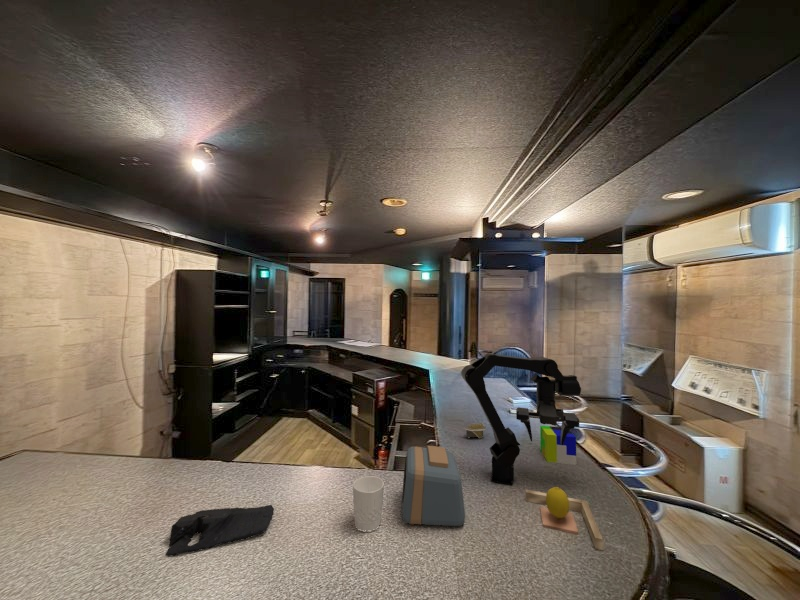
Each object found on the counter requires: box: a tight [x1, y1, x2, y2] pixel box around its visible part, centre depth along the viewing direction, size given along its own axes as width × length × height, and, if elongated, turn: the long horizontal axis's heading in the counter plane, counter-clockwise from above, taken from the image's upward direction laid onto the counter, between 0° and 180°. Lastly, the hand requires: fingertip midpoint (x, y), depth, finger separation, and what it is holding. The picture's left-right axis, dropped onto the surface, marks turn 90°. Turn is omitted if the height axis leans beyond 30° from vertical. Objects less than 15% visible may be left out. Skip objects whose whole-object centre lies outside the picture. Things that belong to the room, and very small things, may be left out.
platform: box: [463, 423, 486, 439], centre depth 137 cm, size 12×18×7 cm, turn 101°
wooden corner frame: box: [525, 489, 604, 551], centre depth 82 cm, size 16×16×2 cm
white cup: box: [352, 475, 385, 531], centre depth 79 cm, size 8×8×10 cm
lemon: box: [545, 486, 570, 519], centre depth 82 cm, size 6×6×8 cm
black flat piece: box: [165, 504, 275, 557], centre depth 77 cm, size 15×22×5 cm
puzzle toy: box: [539, 425, 577, 466], centre depth 120 cm, size 10×10×10 cm
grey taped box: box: [401, 445, 466, 527], centre depth 86 cm, size 16×16×16 cm
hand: (546, 442), depth 103 cm, fingers open, 9 cm apart
